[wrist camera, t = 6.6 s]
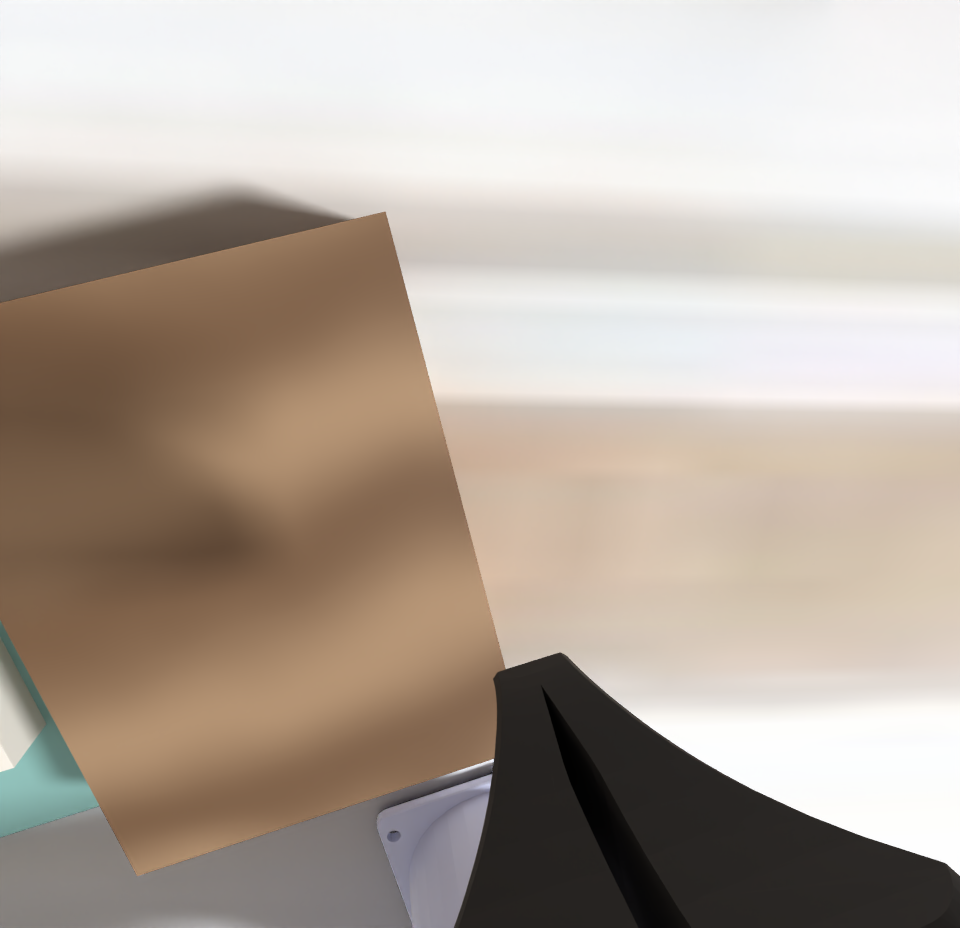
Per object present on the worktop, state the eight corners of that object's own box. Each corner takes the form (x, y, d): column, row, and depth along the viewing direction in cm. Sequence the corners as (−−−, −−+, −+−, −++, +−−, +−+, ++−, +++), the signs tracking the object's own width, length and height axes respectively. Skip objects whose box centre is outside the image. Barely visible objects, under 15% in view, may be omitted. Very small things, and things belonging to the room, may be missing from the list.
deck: (500, 673, 23) (526, 748, 20) (176, 776, 22) (137, 876, 18) (381, 227, 19) (385, 211, 15) (-39, 327, 18) (-151, 338, 14)
